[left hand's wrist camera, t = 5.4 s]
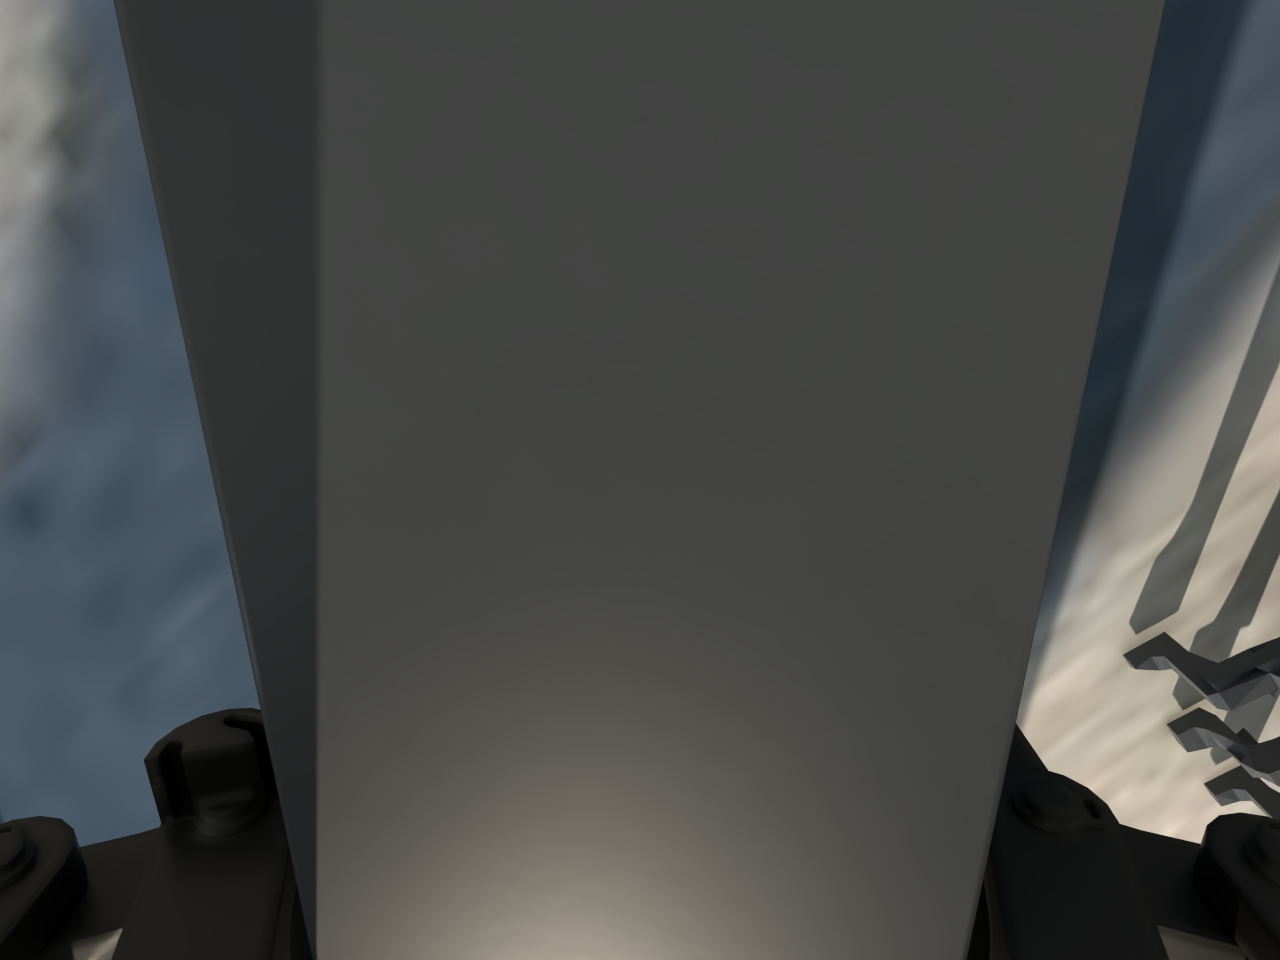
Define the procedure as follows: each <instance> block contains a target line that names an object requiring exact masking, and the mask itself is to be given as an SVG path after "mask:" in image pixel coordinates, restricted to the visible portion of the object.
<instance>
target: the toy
mask: <svg viewBox="0 0 1280 960" xmlns="http://www.w3.org/2000/svg"><path fill="white" fill-rule="evenodd" d="M1123 656H1124V657H1125V659H1126V660H1127V662H1128V664H1129V665H1130V667H1132V668H1134V669H1143V670H1166V669H1173V670H1174V671H1175V672H1176V673H1177V674H1178V675H1179V676H1181V677H1182V678H1183V679H1184V680H1185V681H1186V682H1187V683H1189V684H1190V685H1191V686H1192V687H1193V688H1194V689H1195V690H1197V691H1198V692H1199V693H1200V694H1201V695H1202V696H1203V697H1205V698H1206V699H1207V700H1208V701H1209V702H1210V703H1212V704H1213V705H1214V706H1215V707H1216V708H1218V709H1223V710H1227V711H1229V710H1233V709H1235V708H1237V707H1240V706H1242V705H1244V704H1246V703H1248V702H1250V701H1252V700H1254V699H1256V698H1258V697H1261V696H1263V695H1265V694H1267V693H1270V694H1271V695H1272V696H1273V697H1275V696H1277V695H1278V694H1280V637H1279V638H1276V639H1273V640H1271V641H1268V642H1265V643H1263V644H1260V645H1258V646H1255V647H1252V648H1250V649H1247V650H1245V651H1243V652H1241V653H1239V654H1237V655H1235V656H1233V657H1231V658H1228V659H1226V660H1224V661H1222V662H1220V663H1218V664H1217V663H1215V662H1213V661H1210V660H1208V659H1205V658H1203V657H1200V656H1198V655H1195V654H1193V653H1190V652H1188V651H1187V650H1186V649H1185V648H1183V647H1182V646H1181V645H1180V644H1179V643H1177V642H1176V641H1175V640H1174V639H1173V638H1171V637H1170V636H1169V635H1168V634H1167V633H1165V632H1164V633H1162V634H1160V635H1158V636H1156V637H1155V638H1153V639H1151V640H1149V641H1147V642H1145V643H1144V644H1142V645H1140V646H1138V647H1136V648H1135V649H1133V650H1131V651H1129V652H1127V653H1125V654H1124V655H1123ZM1167 726H1168V727H1169V729H1170V731H1171V732H1172V734H1173V735H1174V737H1175V739H1176V740H1177V742H1178V743H1179V744H1180V745H1181V746H1182V747H1183V748H1184V749H1185V750H1186V751H1187V752H1192V751H1197V750H1201V749H1206V748H1210V747H1215V746H1220V747H1222V748H1224V749H1226V750H1227V751H1228V752H1229V753H1230V754H1231V755H1232V756H1233V757H1234V758H1235V759H1236V760H1237V761H1238V762H1239V763H1240V764H1241V765H1240V766H1238V767H1236V768H1234V769H1232V770H1230V771H1228V772H1226V773H1224V774H1222V775H1220V776H1218V777H1216V778H1214V779H1212V780H1210V781H1208V782H1206V783H1204V785H1205V786H1206V788H1207V790H1208V791H1209V793H1210V794H1211V795H1212V797H1213V798H1214V799H1215V800H1216V801H1217V802H1218V803H1219V804H1220V805H1221V806H1224V805H1228V804H1231V803H1235V802H1238V801H1252V802H1254V803H1255V804H1256V805H1257V806H1258V807H1259V808H1260V809H1261V810H1262V811H1263V812H1264V813H1265V814H1266V815H1267V816H1268V817H1270V818H1273V819H1276V820H1279V821H1280V793H1279V792H1277V791H1275V790H1273V789H1272V788H1270V787H1269V786H1267V785H1266V784H1265V783H1264V782H1263V781H1262V780H1261V779H1260V778H1264V779H1266V780H1268V781H1270V782H1272V783H1274V784H1276V785H1277V786H1279V787H1280V737H1277V738H1275V739H1272V740H1269V741H1265V742H1262V743H1258V742H1257V741H1256V740H1255V739H1254V738H1253V737H1252V736H1251V735H1250V734H1249V733H1248V732H1247V731H1246V730H1245V729H1244V728H1243V729H1242V730H1241V731H1240V732H1238V733H1237V734H1235V733H1234V732H1233V731H1232V730H1231V729H1230V728H1229V727H1228V726H1227V725H1226V724H1225V723H1224V722H1222V721H1221V720H1220V719H1219V718H1218V717H1217V716H1216V715H1214V714H1212V713H1210V712H1208V711H1205V710H1203V709H1201V708H1197V709H1195V710H1193V711H1191V712H1189V713H1187V714H1185V715H1184V716H1182V717H1180V718H1178V719H1176V720H1174V721H1172V722H1170V723H1168V724H1167Z"/></svg>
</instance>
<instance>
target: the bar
mask: <svg viewBox="0 0 1280 960" xmlns="http://www.w3.org/2000/svg"><path fill="white" fill-rule="evenodd" d="M114 5H115V10H116V15H117V20H118V24H119V29H120V34H121V39H122V44H123V49H124V53H125V58H126V63H127V68H128V73H129V77H130V82H131V87H132V92H133V97H134V102H135V106H136V111H137V116H138V121H139V126H140V130H141V135H142V140H143V145H144V150H145V154H146V159H147V164H148V169H149V174H150V179H151V183H152V188H153V193H154V198H155V203H156V207H157V212H158V217H159V222H160V227H161V232H162V236H163V241H164V246H165V251H166V256H167V260H168V265H169V270H170V275H171V280H172V285H173V289H174V294H175V299H176V304H177V309H178V313H179V318H180V323H181V328H182V333H183V338H184V342H185V347H186V352H187V357H188V362H189V366H190V371H191V376H192V381H193V386H194V391H195V395H196V400H197V405H198V410H199V415H200V419H201V424H202V429H203V434H204V439H205V444H206V448H207V453H208V458H209V463H210V468H211V472H212V477H213V482H214V487H215V492H216V497H217V501H218V506H219V511H220V516H221V521H222V525H223V530H224V535H225V540H226V545H227V550H228V554H229V559H230V564H231V569H232V574H233V578H234V583H235V588H236V593H237V598H238V603H239V607H240V612H241V617H242V622H243V627H244V631H245V636H246V641H247V646H248V651H249V656H250V660H251V665H252V670H253V675H254V680H255V684H256V689H257V694H258V699H259V704H260V709H261V713H262V718H263V723H264V728H265V733H266V737H267V742H268V747H269V752H270V757H271V762H272V766H273V771H274V776H275V781H276V786H277V790H278V795H279V800H280V805H281V810H282V815H283V819H284V824H285V829H286V834H287V839H288V843H289V848H290V853H291V858H292V863H293V868H294V872H295V877H296V882H297V887H298V892H299V896H300V901H301V906H302V911H303V916H304V921H305V925H306V930H307V935H308V940H309V945H310V949H311V954H312V959H313V960H967V955H968V950H969V945H970V940H971V936H972V931H973V926H974V921H975V916H976V911H977V907H978V902H979V897H980V892H981V887H982V883H983V878H984V873H985V868H986V863H987V858H988V854H989V849H990V844H991V839H992V834H993V829H994V825H995V820H996V815H997V810H998V805H999V801H1000V796H1001V791H1002V786H1003V781H1004V776H1005V772H1006V767H1007V762H1008V757H1009V752H1010V747H1011V743H1012V738H1013V733H1014V728H1015V723H1016V719H1017V714H1018V709H1019V704H1020V699H1021V694H1022V690H1023V685H1024V680H1025V675H1026V670H1027V665H1028V661H1029V656H1030V651H1031V646H1032V641H1033V637H1034V632H1035V627H1036V622H1037V617H1038V612H1039V608H1040V603H1041V598H1042V593H1043V588H1044V583H1045V579H1046V574H1047V569H1048V564H1049V559H1050V555H1051V550H1052V545H1053V540H1054V535H1055V530H1056V526H1057V521H1058V516H1059V511H1060V506H1061V501H1062V497H1063V492H1064V487H1065V482H1066V477H1067V473H1068V468H1069V463H1070V458H1071V453H1072V448H1073V444H1074V439H1075V434H1076V429H1077V424H1078V420H1079V415H1080V410H1081V405H1082V400H1083V395H1084V391H1085V386H1086V381H1087V376H1088V371H1089V366H1090V362H1091V357H1092V352H1093V347H1094V342H1095V338H1096V333H1097V328H1098V323H1099V318H1100V313H1101V309H1102V304H1103V299H1104V294H1105V289H1106V284H1107V280H1108V275H1109V270H1110V265H1111V260H1112V256H1113V251H1114V246H1115V241H1116V236H1117V231H1118V227H1119V222H1120V217H1121V212H1122V207H1123V202H1124V198H1125V193H1126V188H1127V183H1128V178H1129V174H1130V169H1131V164H1132V159H1133V154H1134V149H1135V145H1136V140H1137V135H1138V130H1139V125H1140V120H1141V116H1142V111H1143V106H1144V101H1145V96H1146V92H1147V87H1148V82H1149V77H1150V72H1151V67H1152V63H1153V58H1154V53H1155V48H1156V43H1157V38H1158V34H1159V29H1160V24H1161V19H1162V14H1163V10H1164V5H1165V0H114Z"/></svg>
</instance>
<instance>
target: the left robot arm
mask: <svg viewBox="0 0 1280 960" xmlns="http://www.w3.org/2000/svg"><path fill="white" fill-rule="evenodd" d="M144 763H145V766H146V770H147V773H148V777H149V781H150V784H151V788H152V791H153V795H154V798H155V802H156V806H157V809H158V813H159V816H160V820H161V826H160V827H159V828H155V829H152V830H149V831H146V832H142V833H139V834H135V835H130V836H126V837H122V838H117V839H113V840H109V841H105V842H100V843H96V844H92V845H87V846H83V847H79V844H78V841H77V838H76V835H75V832H74V829H73V828H72V827H71V826H69V825H68V824H67V823H66V822H64V821H63V820H62V819H59V818H52V817H44V816H36V817H29V818H23V819H16V820H11V821H8V822H6V823H3V824H0V960H313V959H312V954H311V949H310V945H309V940H308V935H307V930H306V925H305V921H304V916H303V911H302V906H301V901H300V896H299V892H298V887H297V882H296V877H295V872H294V868H293V863H292V858H291V853H290V848H289V843H288V839H287V834H286V829H285V824H284V819H283V815H282V810H281V805H280V800H279V795H278V790H277V786H276V781H275V776H274V771H273V766H272V762H271V757H270V752H269V747H268V742H267V737H266V733H265V728H264V723H263V718H262V713H261V710H258V709H254V708H241V709H227V710H223V711H219V712H215V713H211V714H207V715H203V716H200V717H198V718H196V719H194V720H192V721H190V722H188V723H185V724H183V725H181V726H179V727H177V728H175V729H174V730H173V731H171V732H170V733H169V734H167V735H166V736H165V737H163V738H162V739H161V740H159V741H158V742H157V743H156V744H155V745H154V747H153V748H152V749H151V751H150V752H149V753H148V755H147V756H146V757H145V759H144ZM967 960H1280V821H1279V820H1276V819H1273V818H1270V817H1267V816H1260V815H1253V814H1247V813H1234V814H1226V815H1219V816H1218V817H1217V818H1215V819H1214V820H1213V821H1212V822H1211V823H1209V824H1208V825H1207V827H1206V830H1205V833H1204V836H1203V839H1202V842H1201V844H1198V843H1194V842H1189V841H1185V840H1181V839H1176V838H1172V837H1168V836H1163V835H1159V834H1155V833H1151V832H1146V831H1142V830H1138V829H1135V828H1132V827H1128V826H1125V825H1122V824H1119V822H1118V821H1117V819H1116V817H1115V816H1114V814H1113V813H1112V811H1111V810H1110V808H1109V806H1108V805H1107V804H1106V803H1105V802H1104V801H1103V800H1101V799H1100V798H1099V797H1098V796H1097V795H1096V794H1094V793H1093V792H1092V791H1091V790H1090V789H1089V788H1087V787H1085V786H1083V785H1081V784H1079V783H1077V782H1076V781H1074V780H1072V779H1070V778H1068V777H1066V776H1064V775H1061V774H1057V773H1054V772H1050V771H1048V770H1047V768H1046V767H1045V765H1044V764H1043V762H1042V761H1041V759H1040V758H1039V756H1038V755H1037V753H1036V752H1035V751H1034V749H1033V748H1032V746H1031V745H1030V743H1029V742H1028V740H1027V739H1026V737H1025V736H1024V735H1023V733H1022V732H1021V730H1020V729H1019V727H1018V726H1017V724H1016V723H1015V728H1014V733H1013V738H1012V743H1011V747H1010V752H1009V757H1008V762H1007V767H1006V772H1005V776H1004V781H1003V786H1002V791H1001V796H1000V801H999V805H998V810H997V815H996V820H995V825H994V829H993V834H992V839H991V844H990V849H989V854H988V858H987V863H986V868H985V873H984V878H983V883H982V887H981V892H980V897H979V902H978V907H977V911H976V916H975V921H974V926H973V931H972V936H971V940H970V945H969V950H968V955H967Z"/></svg>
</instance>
